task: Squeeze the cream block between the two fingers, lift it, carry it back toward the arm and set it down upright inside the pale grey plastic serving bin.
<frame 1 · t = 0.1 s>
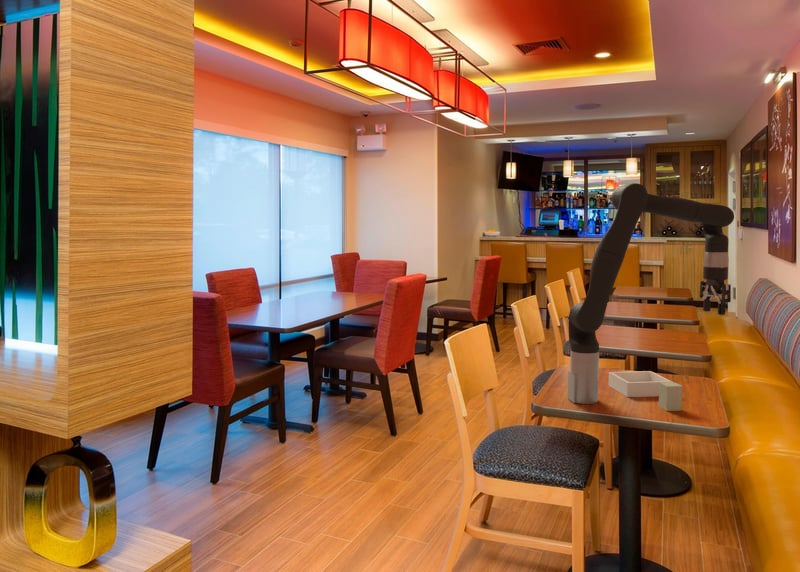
hand: (713, 313, 209), 29 cm above the table, fingers open, 8 cm apart
cream block: (669, 408, 198), on the table
serving bin: (639, 390, 220), on the table
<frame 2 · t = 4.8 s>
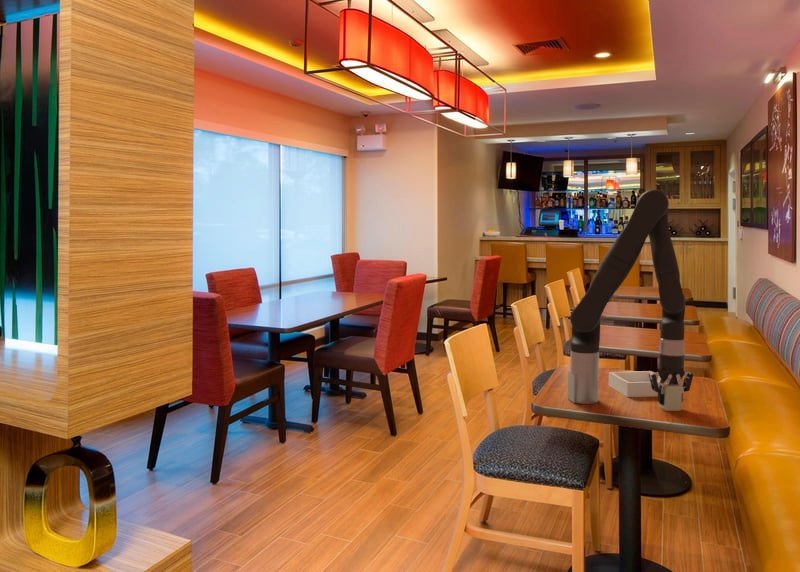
hand: (670, 404, 198), 1 cm above the table, fingers closed on cream block, 5 cm apart
cream block: (669, 408, 198), on the table, touching gripper
when the fingers open (5 cm above the table, at t = 12.8 s): cream block drops 2 cm, resting on serving bin.
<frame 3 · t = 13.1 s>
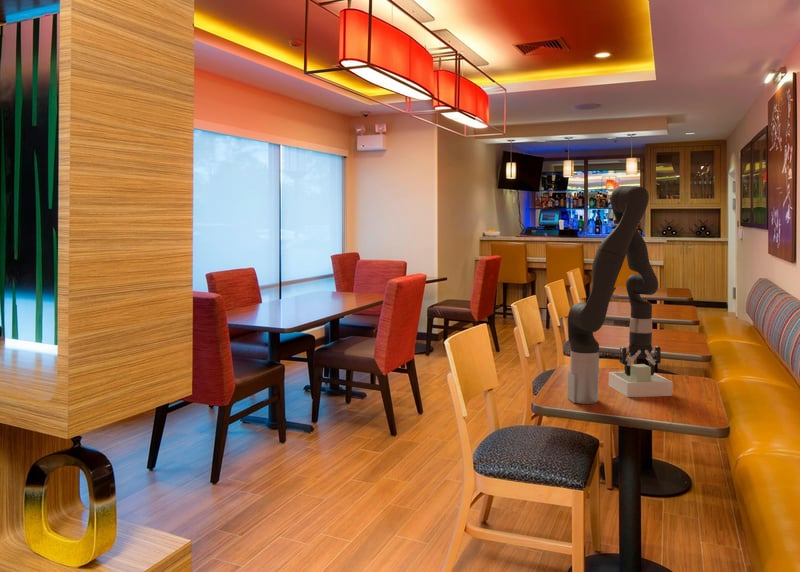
hand: (639, 375, 220), 6 cm above the table, fingers open, 8 cm apart
cream block: (640, 387, 220), point 1 cm above the table, touching serving bin
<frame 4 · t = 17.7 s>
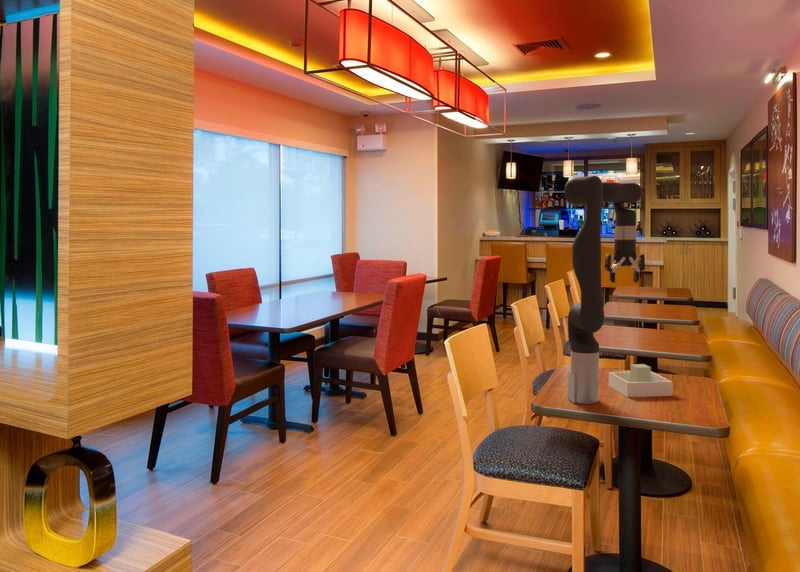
hand: (624, 282, 226), 38 cm above the table, fingers open, 8 cm apart
nothing on the table moved.
at the end: cream block inside the target area on the serving bin (0.3 cm from its centre), point 1.0 cm above the serving bin's base; cream block tilted 0°; the gripper is holding nothing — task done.
